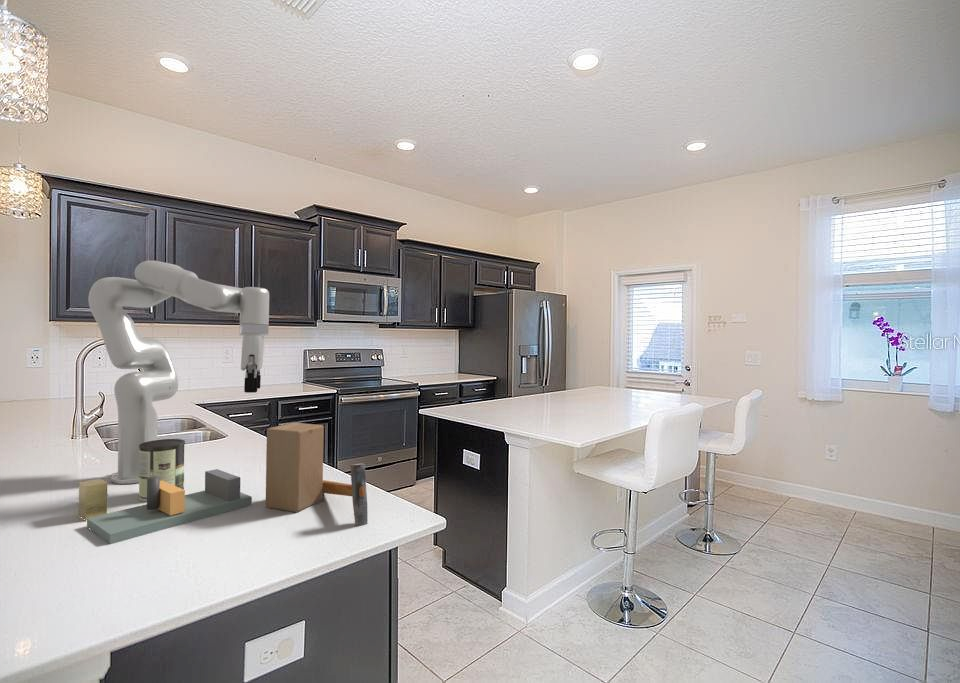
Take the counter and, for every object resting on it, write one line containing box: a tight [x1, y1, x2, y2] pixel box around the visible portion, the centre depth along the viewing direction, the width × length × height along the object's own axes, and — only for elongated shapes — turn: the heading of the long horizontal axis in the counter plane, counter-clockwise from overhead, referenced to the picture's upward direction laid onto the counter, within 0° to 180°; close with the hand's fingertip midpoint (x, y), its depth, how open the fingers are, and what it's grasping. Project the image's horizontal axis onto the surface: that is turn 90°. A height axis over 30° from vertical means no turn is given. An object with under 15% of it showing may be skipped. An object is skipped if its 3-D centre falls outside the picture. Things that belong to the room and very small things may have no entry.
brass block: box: [78, 478, 108, 521], centre depth 113 cm, size 5×4×8 cm
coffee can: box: [138, 438, 186, 502], centre depth 128 cm, size 10×10×14 cm
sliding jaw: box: [146, 476, 186, 515], centre depth 112 cm, size 12×5×8 cm, turn 55°
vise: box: [86, 468, 253, 545], centre depth 115 cm, size 14×30×7 cm, turn 145°
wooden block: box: [265, 422, 325, 513], centre depth 124 cm, size 10×10×20 cm
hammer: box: [322, 463, 368, 527], centre depth 123 cm, size 14×2×30 cm
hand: (252, 390), depth 138 cm, fingers open, 9 cm apart
